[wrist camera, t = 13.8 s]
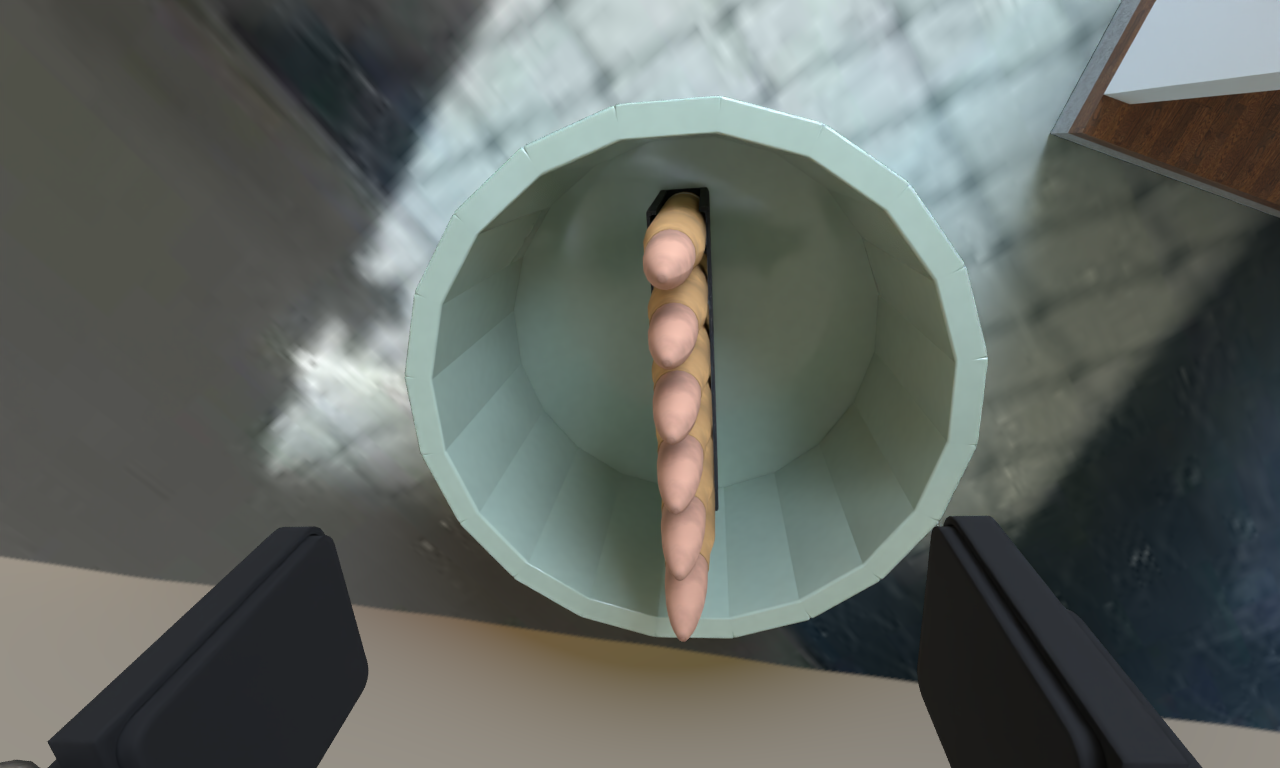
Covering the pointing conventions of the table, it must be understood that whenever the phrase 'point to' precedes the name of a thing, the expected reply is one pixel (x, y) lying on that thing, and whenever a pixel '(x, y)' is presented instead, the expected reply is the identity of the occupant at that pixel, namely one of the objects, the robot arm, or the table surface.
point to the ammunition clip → (683, 394)
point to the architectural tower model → (1187, 95)
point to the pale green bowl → (744, 365)
